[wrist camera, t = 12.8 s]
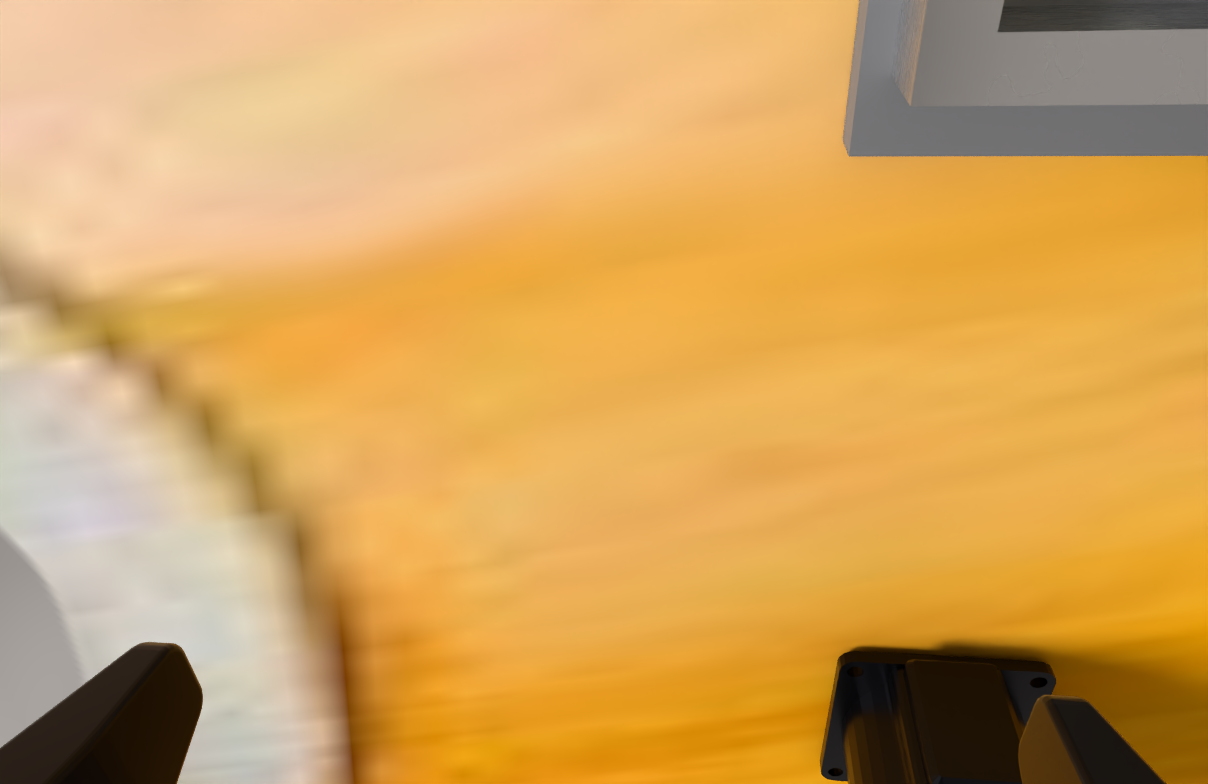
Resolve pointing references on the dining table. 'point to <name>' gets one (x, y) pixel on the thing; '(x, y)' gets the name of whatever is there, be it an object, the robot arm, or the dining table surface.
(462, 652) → the dining table surface
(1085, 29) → the socket
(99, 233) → the dining table surface
